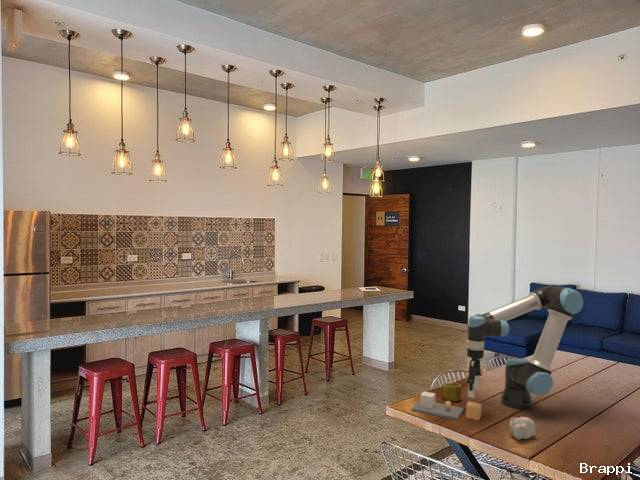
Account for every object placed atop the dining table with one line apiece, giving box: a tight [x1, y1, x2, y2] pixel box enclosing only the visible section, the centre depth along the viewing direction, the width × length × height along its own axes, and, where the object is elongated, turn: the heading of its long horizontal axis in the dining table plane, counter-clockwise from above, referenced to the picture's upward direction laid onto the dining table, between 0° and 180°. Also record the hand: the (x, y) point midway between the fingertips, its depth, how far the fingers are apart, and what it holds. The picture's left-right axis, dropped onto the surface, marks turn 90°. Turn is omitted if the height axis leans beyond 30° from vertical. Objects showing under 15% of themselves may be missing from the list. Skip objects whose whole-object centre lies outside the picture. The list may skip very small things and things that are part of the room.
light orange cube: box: [465, 401, 483, 421], centre depth 229 cm, size 6×6×6 cm
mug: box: [442, 381, 462, 402], centre depth 253 cm, size 12×10×10 cm
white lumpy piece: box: [509, 415, 536, 440], centre depth 209 cm, size 9×11×15 cm
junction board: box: [411, 391, 464, 421], centre depth 236 cm, size 22×14×7 cm, turn 62°
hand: (473, 392), depth 228 cm, fingers open, 13 cm apart
